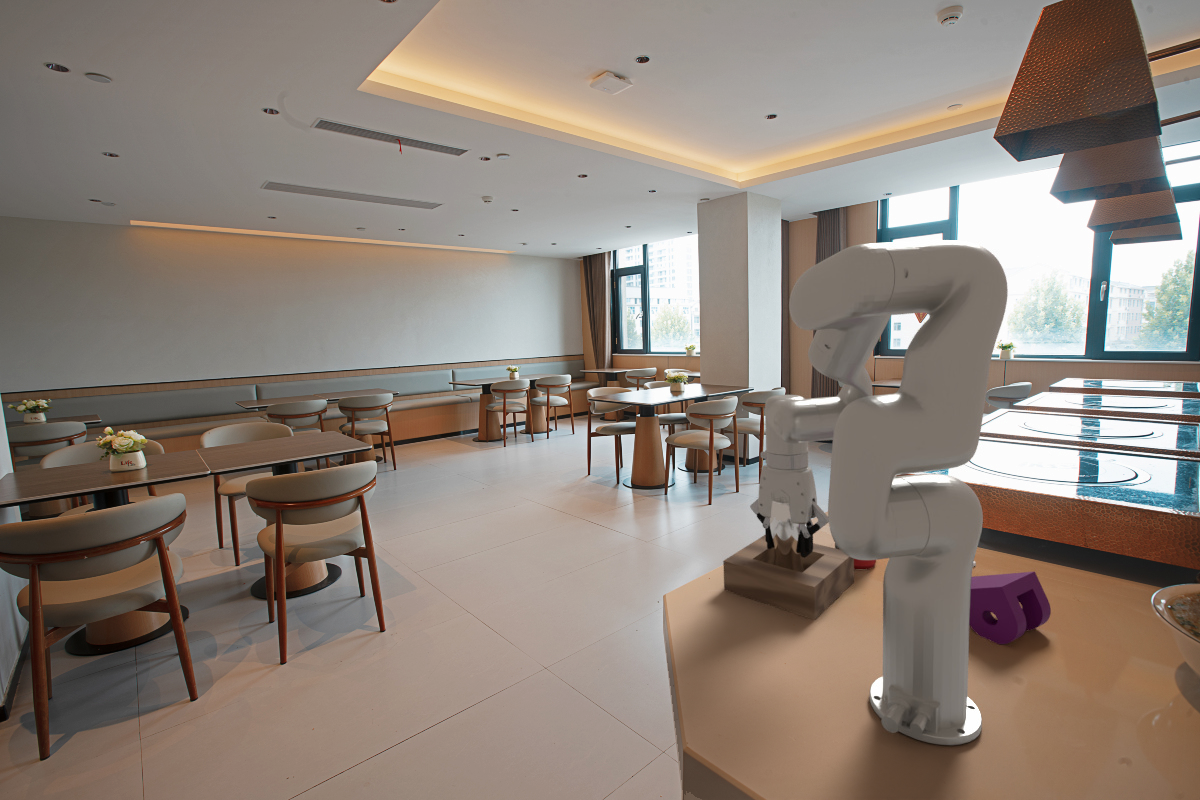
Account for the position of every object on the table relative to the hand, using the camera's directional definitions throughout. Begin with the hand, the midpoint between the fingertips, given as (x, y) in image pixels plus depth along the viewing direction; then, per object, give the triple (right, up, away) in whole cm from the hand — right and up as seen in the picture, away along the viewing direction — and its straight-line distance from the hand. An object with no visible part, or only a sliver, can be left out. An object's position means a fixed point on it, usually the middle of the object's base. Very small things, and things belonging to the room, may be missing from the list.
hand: (788, 550), depth 107 cm
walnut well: (0, -7, +1) cm, 7 cm away
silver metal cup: (0, -5, +1) cm, 5 cm away
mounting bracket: (+26, -8, -13) cm, 31 cm away
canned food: (+17, -5, +10) cm, 20 cm away
